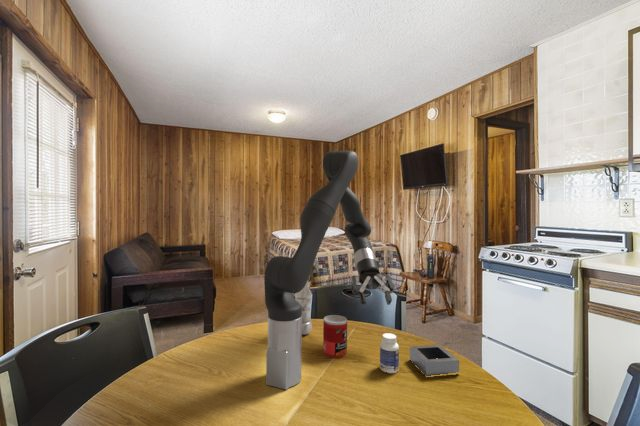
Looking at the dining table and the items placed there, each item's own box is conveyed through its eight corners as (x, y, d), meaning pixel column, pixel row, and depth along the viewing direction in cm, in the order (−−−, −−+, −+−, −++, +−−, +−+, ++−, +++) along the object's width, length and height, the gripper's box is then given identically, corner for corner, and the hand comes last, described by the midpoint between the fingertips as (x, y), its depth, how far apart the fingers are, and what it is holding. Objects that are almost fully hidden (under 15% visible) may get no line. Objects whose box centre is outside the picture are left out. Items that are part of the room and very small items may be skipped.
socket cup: (459, 376, 84) (459, 360, 84) (426, 378, 82) (426, 362, 82) (439, 358, 94) (439, 344, 94) (409, 361, 92) (409, 346, 92)
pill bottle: (399, 375, 84) (399, 340, 84) (379, 372, 85) (380, 338, 85) (398, 365, 89) (398, 333, 89) (379, 363, 90) (380, 331, 90)
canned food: (338, 360, 91) (339, 325, 91) (318, 353, 96) (318, 319, 96) (351, 351, 98) (351, 318, 98) (331, 345, 102) (332, 313, 102)
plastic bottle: (290, 334, 110) (291, 281, 111) (300, 328, 116) (300, 277, 117) (305, 338, 107) (306, 283, 108) (314, 332, 113) (315, 279, 114)
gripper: (349, 257, 105) (358, 299, 94) (387, 257, 107) (401, 297, 96) (345, 269, 110) (353, 310, 99) (382, 269, 112) (394, 308, 101)
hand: (377, 304), depth 97 cm, fingers open, 8 cm apart
